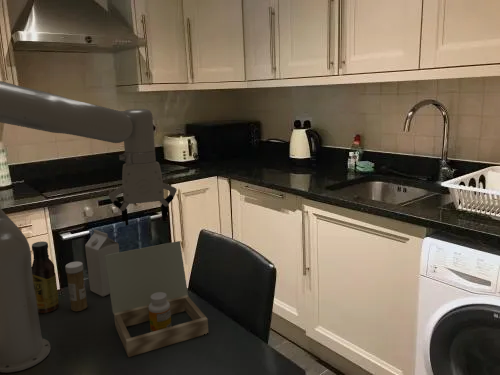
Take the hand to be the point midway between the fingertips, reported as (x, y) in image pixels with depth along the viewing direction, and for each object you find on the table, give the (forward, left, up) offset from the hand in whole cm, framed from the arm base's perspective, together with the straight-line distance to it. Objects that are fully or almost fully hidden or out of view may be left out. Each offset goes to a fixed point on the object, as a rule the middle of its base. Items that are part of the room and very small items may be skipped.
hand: (145, 221), depth 116 cm
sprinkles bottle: (-18, +13, -26) cm, 34 cm away
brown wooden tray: (-1, -11, -26) cm, 28 cm away
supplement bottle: (-1, -11, -26) cm, 28 cm away
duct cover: (-1, -1, -15) cm, 15 cm away
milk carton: (-9, +21, -26) cm, 35 cm away
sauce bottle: (-26, +17, -26) cm, 41 cm away
